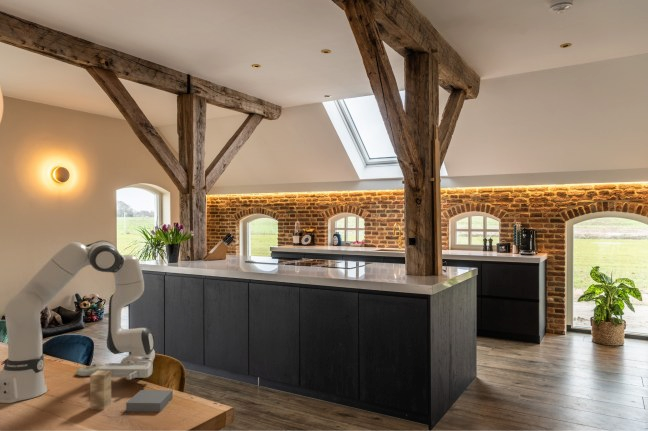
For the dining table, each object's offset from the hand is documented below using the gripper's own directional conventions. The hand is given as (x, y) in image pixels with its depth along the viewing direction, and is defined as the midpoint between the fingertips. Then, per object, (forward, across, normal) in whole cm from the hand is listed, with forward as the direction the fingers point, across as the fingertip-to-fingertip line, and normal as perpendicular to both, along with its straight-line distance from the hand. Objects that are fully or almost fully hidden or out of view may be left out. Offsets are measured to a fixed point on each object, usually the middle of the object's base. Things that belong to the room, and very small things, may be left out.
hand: (115, 377), depth 178 cm
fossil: (-25, -23, +7) cm, 34 cm away
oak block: (+11, 0, +6) cm, 13 cm away
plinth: (+9, +17, +6) cm, 20 cm away
